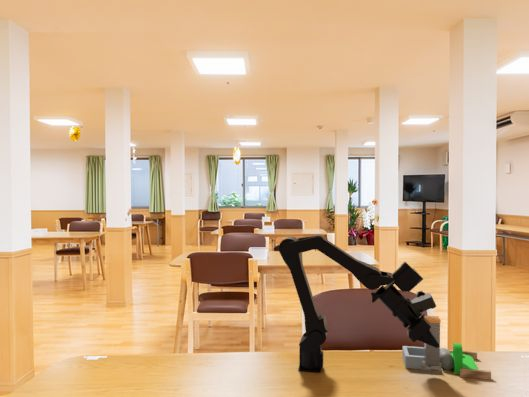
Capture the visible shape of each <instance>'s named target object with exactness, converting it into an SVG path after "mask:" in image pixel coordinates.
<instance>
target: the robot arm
mask: <svg viewBox="0 0 529 397" xmlns="http://www.w3.org/2000/svg"><path fill="white" fill-rule="evenodd" d="M313 250H317V251H318V252H320V253H322V254H323V255H325V256H326V257H327V258H329V259H331V260H332V261H334V262H335V263H336V264H338V265H340V266H342V268H344V269H346V270H347V271H349V272H350V273H351V274H352V275H353V276H354V277H355V278H356V280H357V281H359V283H361V285H363V287H365V289H368V290H370V295H371V303H375V302H376V301H377V300H379V302H381V303H382V304H383V306H385V307H386V308H387V309H388V310H389V311H390V312H391V315H392V316H393V317H394V318H397V319H398V321H399V322H400V323H401V324H402V326H403V328H405V329H406V334H407V337H408V338H409V339H410V341H412V342H413V343H415V342H417V341H419V342H421V343H423V344H424V343H426V344H428V345H431V346H433V347H435V348H438V347H439V346H440V347H441V344H440V345H439V344H438V342H437V341H436V339H435V338H434V336H433V335H432V333H431V332H430V331H429V330H430V328H431V326H430V324H429V322H427V321H426V320H425V318H424V316H426V314H422V313H423V312H426V311H428V310H430V309H435V308H436V307H437V305H436V302H435V300H434V298H433V296H432V294H431V293H429V292H424V291H423V290H419V291H417V292H416V297H414V298H413V299H410V298H409V297H407V296H404V295H403V294H402V293H404V292H405V293H406V292H408V293H409V292H411V291H412V290H413V289H415V287H417V286H418V284H421V282H422V281H423V280H424V278H423V276H421V274H420V273H419V272H417V270H416V269H415V268H414V267H411V265H410V264H409V263H407V262H406V261H403V263H402V264H400V266H399V267H398V268H397V269H396V270H395V271H393V273H392V272H389V271H383V270H381V269H380V268H378V267H376V266H374V265H372V264H370V263H368V262H364V261H361V260H359V259H357V258H355V257H354V256H352V255H351V254H349V253H347V252H346V251H345V250H343V249H342V248H340V247H338V246H337V245H335V244H334V243H332V241H329V240H328V239H327V238H325V237H324V235H321V234H315V235H312V236H311V235H310V236H305V237H299V238H297V237H295V236H287V237H285V238H284V239H282V240H281V241H280V243H279V245H278V252H279V254H280V256H281V258H282V260H283V263H285V265H286V266H287V268H288V269H289V272H290V274H291V277H292V280H293V283H294V287H295V290H296V293H297V297H298V300H299V303H300V305H301V308H302V312H303V317H304V327H305V332H304V333H303V334H302V335H301V338H300V340H299V343H298V345H299V351H298V353H299V356H298V357H299V359H298V360H299V361H298V362H299V363H298V364H299V365H298V368H297V369H298V371H301V372H312V373H321V372H322V368H323V367H324V351H323V350H322V346H323V344H325V342H326V340H327V337H328V331H329V327H330V325H329V323H328V322H327V318H326V313H320V312H319V310H318V308H317V305H316V303H315V302H316V301H315V299H314V298H315V297H314V296H313V293H312V290H311V286H310V284H309V281H308V277H307V274H306V271H305V268H304V264H303V263H304V262H303V253H305V252H310V251H313ZM398 289H399V290H398ZM373 290H376V291H373ZM400 291H401V292H400Z"/></svg>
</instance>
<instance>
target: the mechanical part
mask: <svg viewBox="0 0 529 397" xmlns="http://www.w3.org/2000/svg"><path fill="white" fill-rule="evenodd" d="M452 350H453V353H451V355H452V357H453V359H454V368H453V369H452V370H453V372H454V374H455V375H460V369H473V370H479V368H478V367H477V365H476V362H475V359H473V358H472V357H471V356H469V355H465V354H463V352H462V351H463V345H462V343H459V342H458V343H457V342H453V344H452Z"/></svg>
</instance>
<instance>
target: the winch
mask: <svg viewBox="0 0 529 397" xmlns="http://www.w3.org/2000/svg"><path fill="white" fill-rule="evenodd" d="M449 350H450V349H447V347H446V348H445V347H440V363H441V364H442V369H444V370H448V371H450V370H454V369H453V368H454V359H453V357H452V355H451V354H450V352H449ZM401 356H402V360H403V363H404V368H405V369H415V370H425V369H424V368H422V361H423V360H424V346H423V347H422V346H414V345H413V346H412V345H411V346H409V345H402V355H401Z"/></svg>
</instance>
